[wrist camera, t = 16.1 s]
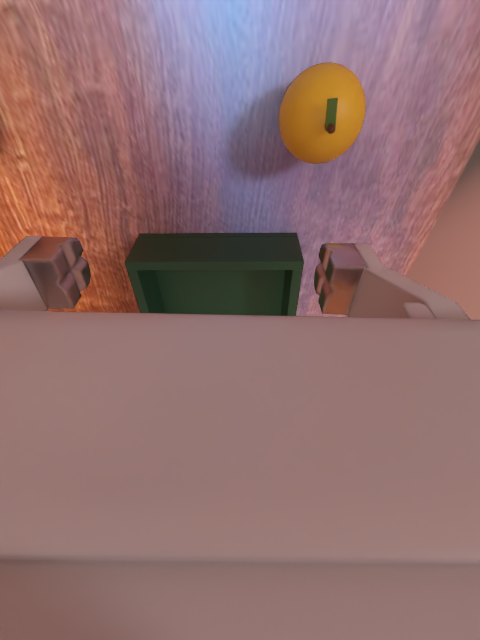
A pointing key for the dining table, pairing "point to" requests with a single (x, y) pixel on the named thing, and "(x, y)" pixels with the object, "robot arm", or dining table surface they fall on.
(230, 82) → the dining table surface
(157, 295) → the crate
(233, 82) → the dining table surface
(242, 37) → the dining table surface
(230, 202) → the dining table surface
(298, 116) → the orange
